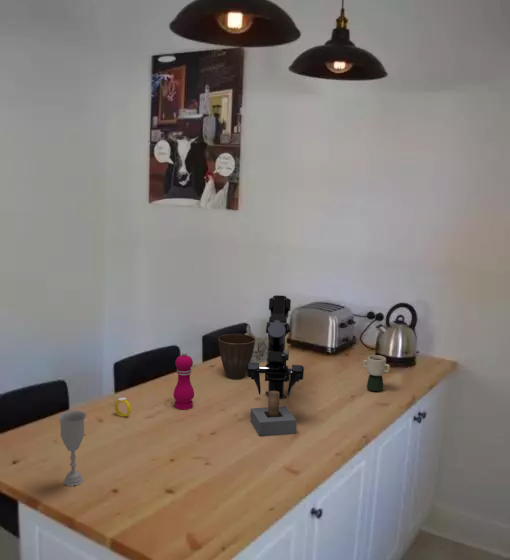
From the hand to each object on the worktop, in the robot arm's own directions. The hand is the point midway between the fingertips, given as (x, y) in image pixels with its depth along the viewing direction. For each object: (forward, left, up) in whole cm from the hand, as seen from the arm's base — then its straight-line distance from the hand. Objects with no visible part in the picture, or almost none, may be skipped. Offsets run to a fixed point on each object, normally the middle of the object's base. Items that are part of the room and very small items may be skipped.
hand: (273, 394), depth 197 cm
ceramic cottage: (-74, +13, -11) cm, 76 cm away
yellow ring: (-17, -47, -11) cm, 51 cm away
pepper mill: (-22, -26, -11) cm, 36 cm away
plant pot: (-51, -1, -11) cm, 52 cm away
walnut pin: (+1, 0, -10) cm, 10 cm away
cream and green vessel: (-27, +49, -11) cm, 57 cm away
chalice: (+26, -61, -11) cm, 68 cm away
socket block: (+1, 0, -11) cm, 11 cm away
